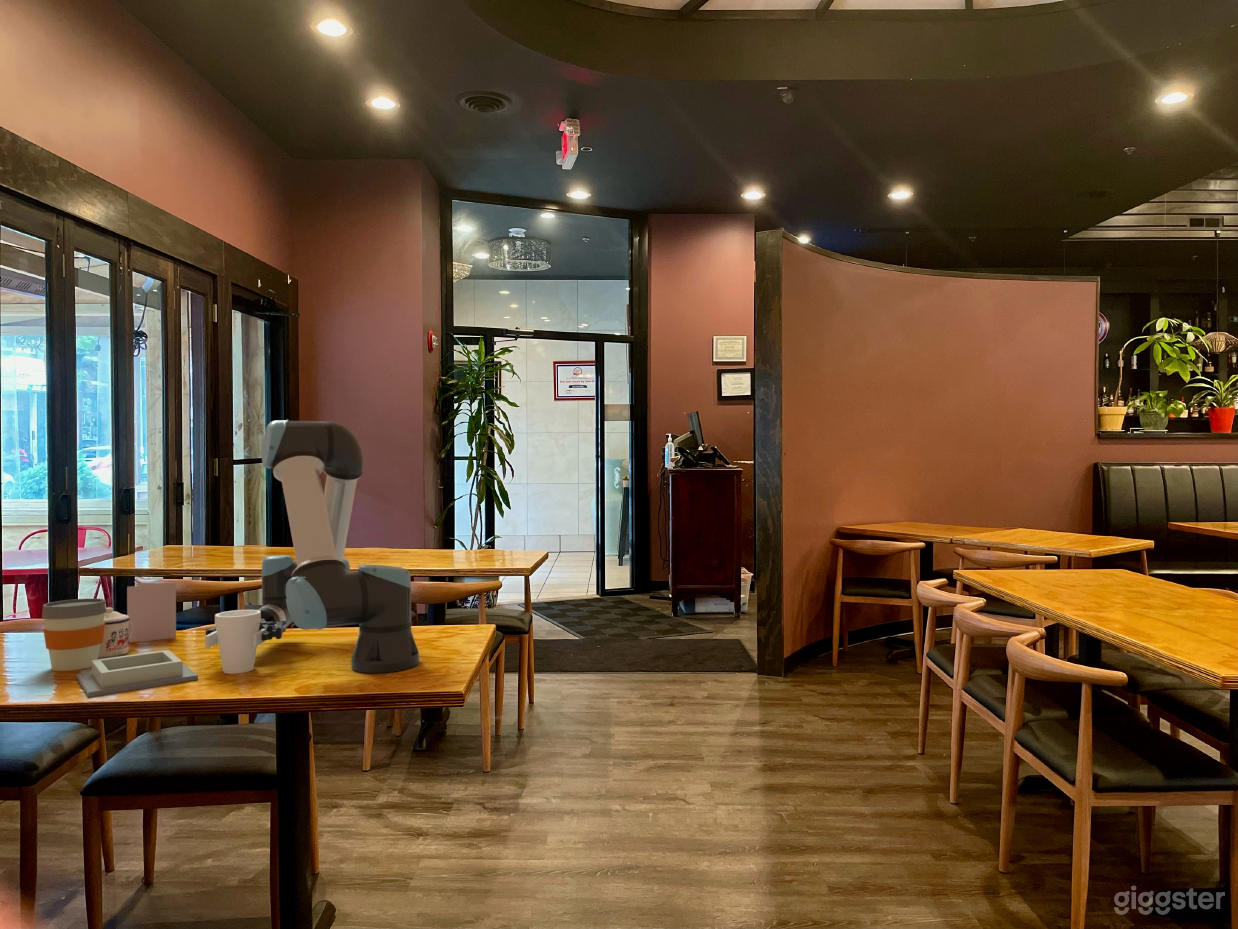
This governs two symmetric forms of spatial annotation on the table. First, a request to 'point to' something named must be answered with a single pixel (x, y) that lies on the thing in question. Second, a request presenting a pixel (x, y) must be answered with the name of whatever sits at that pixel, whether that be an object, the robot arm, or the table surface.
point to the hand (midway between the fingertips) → (230, 641)
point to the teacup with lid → (115, 634)
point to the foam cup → (237, 639)
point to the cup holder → (134, 673)
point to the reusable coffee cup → (73, 632)
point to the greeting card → (152, 611)
